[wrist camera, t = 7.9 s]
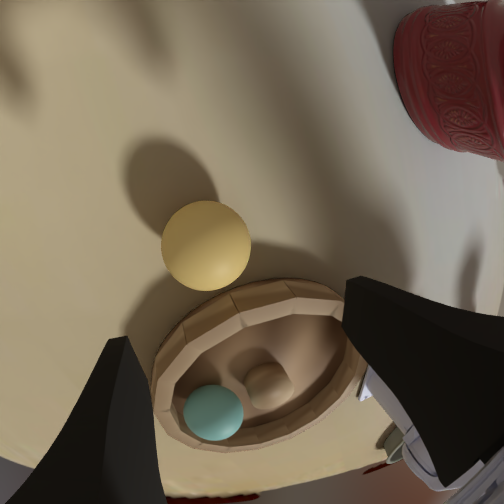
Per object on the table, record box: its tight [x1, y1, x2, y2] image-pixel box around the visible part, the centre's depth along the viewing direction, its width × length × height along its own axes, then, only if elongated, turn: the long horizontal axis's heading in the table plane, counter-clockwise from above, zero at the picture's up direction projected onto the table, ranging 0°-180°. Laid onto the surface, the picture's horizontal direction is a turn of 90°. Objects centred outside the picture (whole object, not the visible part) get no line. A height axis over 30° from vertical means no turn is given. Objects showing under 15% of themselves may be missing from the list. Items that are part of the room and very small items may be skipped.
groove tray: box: [151, 278, 368, 453], centre depth 23 cm, size 18×18×3 cm
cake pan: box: [384, 426, 405, 464], centre depth 48 cm, size 25×25×4 cm
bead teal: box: [183, 385, 243, 441], centre depth 20 cm, size 5×5×5 cm
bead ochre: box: [161, 201, 251, 291], centre depth 15 cm, size 5×5×5 cm
